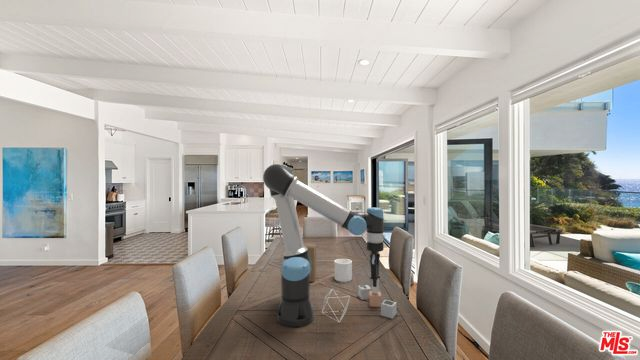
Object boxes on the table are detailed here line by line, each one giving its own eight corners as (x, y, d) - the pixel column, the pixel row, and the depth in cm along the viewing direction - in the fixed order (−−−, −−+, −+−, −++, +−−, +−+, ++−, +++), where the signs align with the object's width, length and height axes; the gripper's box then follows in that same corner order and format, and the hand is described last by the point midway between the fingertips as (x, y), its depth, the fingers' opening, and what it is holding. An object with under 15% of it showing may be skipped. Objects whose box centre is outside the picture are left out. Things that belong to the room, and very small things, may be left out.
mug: (353, 281, 155) (353, 263, 155) (335, 282, 155) (335, 263, 155) (349, 274, 168) (349, 257, 168) (333, 274, 167) (333, 257, 167)
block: (316, 276, 164) (316, 242, 164) (314, 282, 154) (314, 246, 154) (299, 276, 165) (299, 242, 165) (296, 282, 155) (296, 246, 155)
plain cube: (380, 307, 124) (380, 296, 124) (369, 306, 125) (369, 295, 125) (380, 302, 129) (380, 291, 129) (369, 301, 130) (369, 291, 130)
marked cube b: (371, 299, 133) (371, 288, 133) (361, 300, 132) (361, 288, 132) (367, 295, 138) (367, 284, 138) (358, 295, 137) (358, 284, 137)
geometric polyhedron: (317, 318, 114) (317, 296, 114) (326, 307, 124) (326, 287, 124) (346, 324, 110) (346, 301, 110) (353, 312, 120) (353, 291, 120)
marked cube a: (392, 318, 114) (392, 306, 114) (380, 315, 117) (380, 303, 117) (396, 314, 118) (396, 301, 118) (385, 311, 121) (385, 298, 121)
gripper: (381, 245, 120) (381, 299, 120) (385, 239, 132) (385, 288, 132) (364, 243, 122) (364, 297, 122) (369, 238, 135) (369, 286, 135)
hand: (375, 292), depth 127 cm, fingers closed
